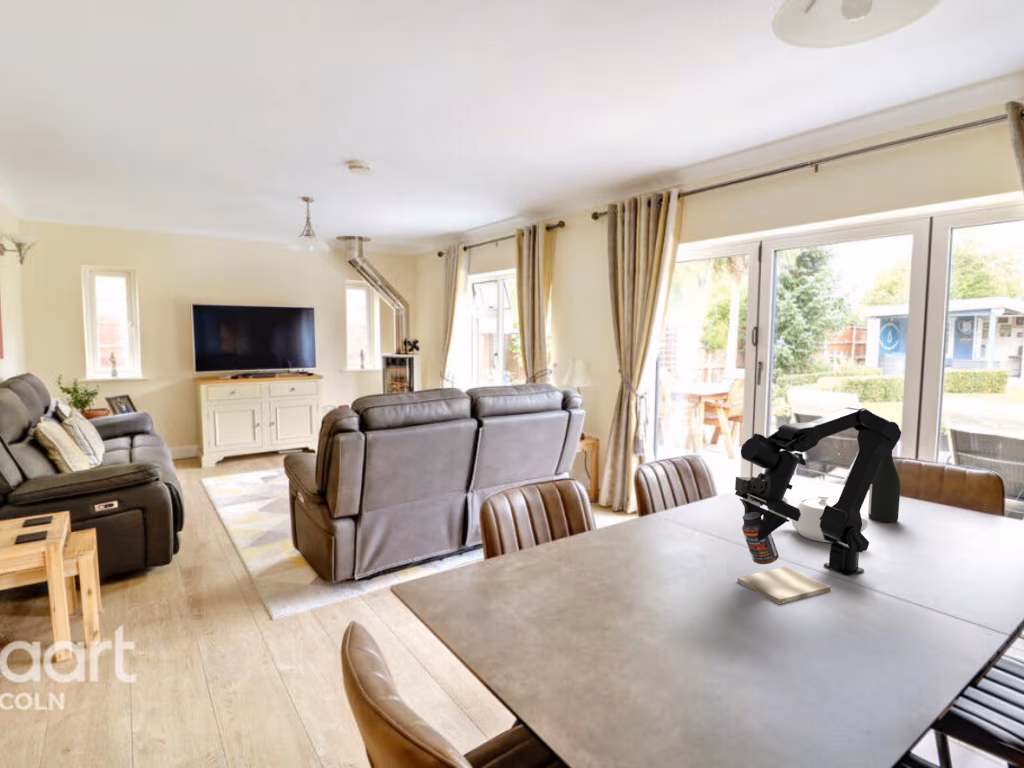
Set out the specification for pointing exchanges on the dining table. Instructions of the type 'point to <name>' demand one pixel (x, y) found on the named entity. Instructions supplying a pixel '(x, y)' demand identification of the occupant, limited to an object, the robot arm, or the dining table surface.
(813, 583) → the board
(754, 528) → the supplement bottle
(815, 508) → the teapot
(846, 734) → the dining table surface
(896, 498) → the wine bottle
